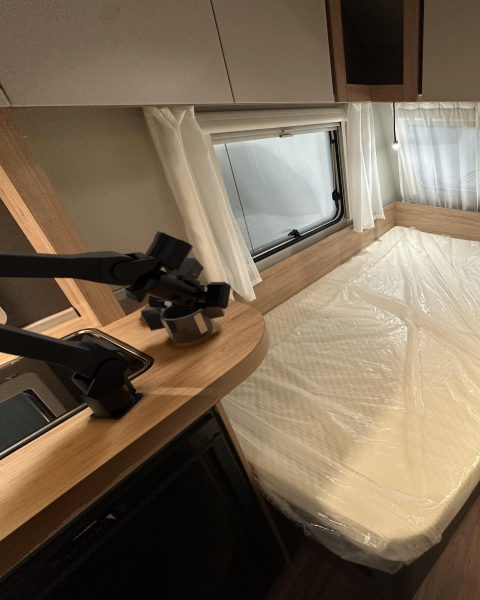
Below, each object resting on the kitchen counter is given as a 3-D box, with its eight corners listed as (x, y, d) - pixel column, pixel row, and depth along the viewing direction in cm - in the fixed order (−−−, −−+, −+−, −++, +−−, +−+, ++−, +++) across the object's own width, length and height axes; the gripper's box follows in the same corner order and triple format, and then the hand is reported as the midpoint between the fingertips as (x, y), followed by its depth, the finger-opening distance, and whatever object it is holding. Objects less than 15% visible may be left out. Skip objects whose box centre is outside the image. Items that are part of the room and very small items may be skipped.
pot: (225, 334, 84) (214, 305, 80) (150, 350, 80) (133, 321, 75) (230, 314, 93) (220, 287, 88) (162, 328, 88) (148, 300, 84)
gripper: (212, 251, 70) (250, 274, 85) (134, 252, 71) (186, 275, 86) (203, 300, 67) (244, 315, 82) (122, 300, 69) (177, 315, 84)
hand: (213, 303), depth 84 cm, fingers closed
